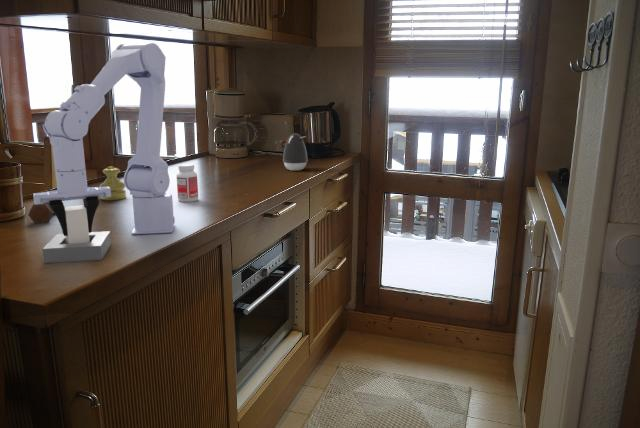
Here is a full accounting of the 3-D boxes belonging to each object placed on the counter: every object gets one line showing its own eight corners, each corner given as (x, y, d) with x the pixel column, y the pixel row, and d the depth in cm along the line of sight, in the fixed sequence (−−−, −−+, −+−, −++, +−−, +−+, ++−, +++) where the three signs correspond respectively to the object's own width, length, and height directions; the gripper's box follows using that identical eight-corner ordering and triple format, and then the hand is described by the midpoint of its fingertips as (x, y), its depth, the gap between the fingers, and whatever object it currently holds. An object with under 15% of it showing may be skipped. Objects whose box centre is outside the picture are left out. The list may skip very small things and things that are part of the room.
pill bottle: (198, 197, 167) (196, 163, 165) (198, 201, 162) (197, 166, 159) (177, 198, 166) (175, 163, 163) (177, 202, 160) (175, 166, 157)
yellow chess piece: (97, 198, 166) (93, 166, 163) (119, 194, 171) (117, 164, 168) (107, 202, 161) (104, 169, 158) (130, 198, 166) (127, 166, 163)
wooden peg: (86, 240, 116) (83, 204, 114) (90, 245, 112) (86, 208, 110) (66, 243, 113) (62, 207, 111) (69, 248, 110) (65, 211, 108)
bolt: (59, 216, 151) (44, 228, 137) (42, 208, 150) (25, 219, 135) (68, 198, 151) (54, 208, 136) (51, 190, 149) (35, 200, 135)
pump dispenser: (300, 172, 215) (300, 135, 211) (278, 170, 219) (278, 133, 215) (312, 169, 224) (312, 132, 220) (290, 167, 228) (290, 131, 224)
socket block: (111, 244, 119) (110, 231, 119) (101, 259, 109) (100, 245, 108) (58, 246, 117) (57, 233, 116) (44, 263, 107) (42, 248, 106)
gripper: (103, 164, 116) (109, 224, 119) (28, 169, 108) (37, 233, 111) (110, 168, 110) (116, 231, 113) (32, 174, 102) (40, 242, 106)
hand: (77, 233), depth 112 cm, fingers closed on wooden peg, 4 cm apart
